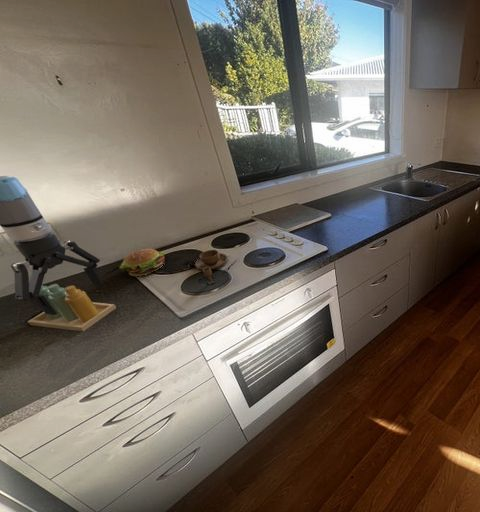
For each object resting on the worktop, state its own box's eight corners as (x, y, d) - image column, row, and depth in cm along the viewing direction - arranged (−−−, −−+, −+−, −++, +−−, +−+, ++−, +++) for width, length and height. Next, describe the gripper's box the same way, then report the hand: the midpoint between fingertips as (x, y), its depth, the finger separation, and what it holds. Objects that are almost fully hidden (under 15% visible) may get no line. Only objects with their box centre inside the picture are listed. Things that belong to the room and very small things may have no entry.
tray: (31, 326, 89) (27, 321, 88) (67, 303, 98) (64, 299, 97) (84, 332, 87) (80, 327, 86) (116, 308, 96) (114, 304, 95)
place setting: (240, 257, 124) (237, 245, 121) (214, 284, 107) (209, 271, 104) (201, 256, 125) (197, 244, 122) (169, 283, 108) (163, 270, 105)
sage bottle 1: (44, 318, 91) (20, 288, 85) (60, 309, 95) (38, 279, 89) (57, 320, 91) (33, 289, 85) (72, 310, 95) (50, 280, 89)
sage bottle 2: (61, 320, 91) (37, 290, 84) (76, 310, 95) (54, 280, 88) (73, 321, 90) (50, 291, 84) (88, 311, 94) (67, 282, 88)
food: (141, 260, 122) (132, 244, 118) (174, 260, 122) (166, 243, 118) (115, 279, 111) (104, 261, 106) (151, 278, 110) (142, 261, 106)
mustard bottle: (77, 322, 90) (54, 291, 84) (91, 312, 94) (71, 282, 88) (89, 323, 89) (67, 292, 83) (104, 313, 93) (83, 283, 87)
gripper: (-18, 261, 66) (39, 329, 77) (92, 218, 87) (124, 276, 98) (-45, 259, 67) (16, 326, 77) (70, 217, 88) (105, 274, 99)
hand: (76, 298), depth 88 cm, fingers open, 13 cm apart
